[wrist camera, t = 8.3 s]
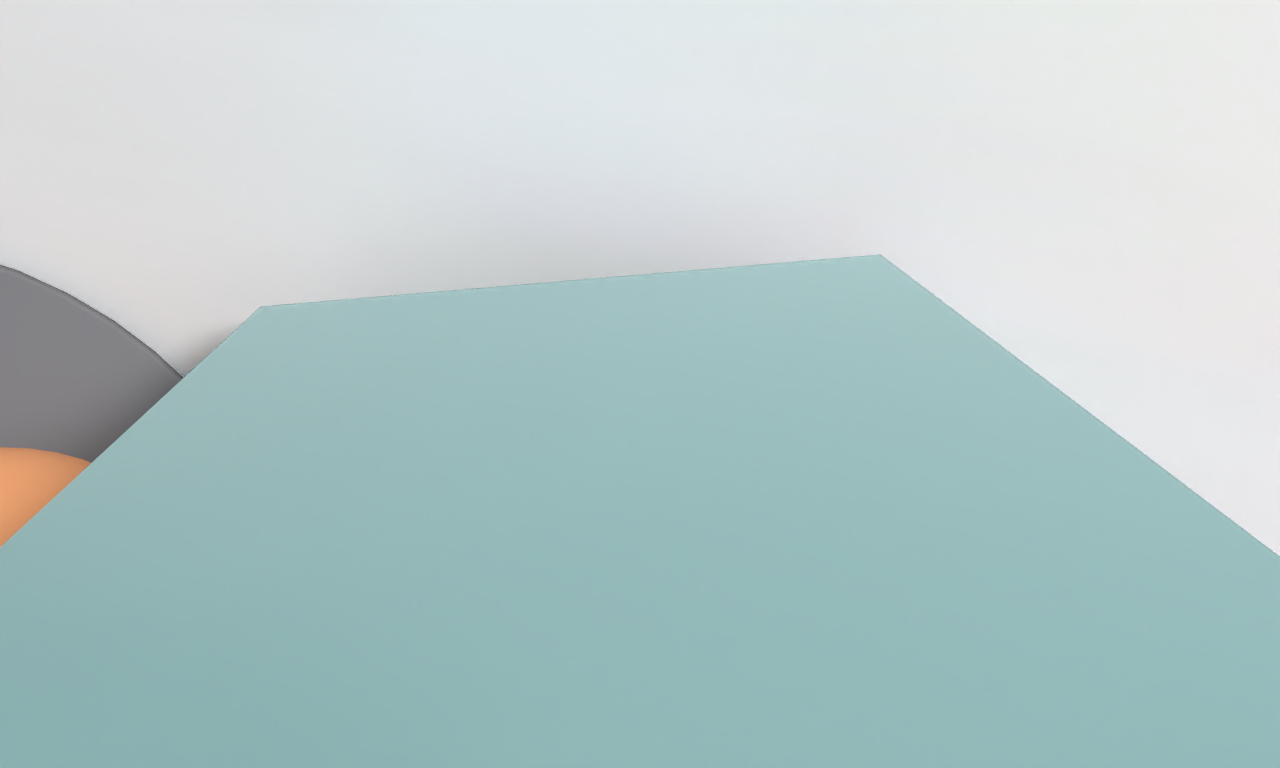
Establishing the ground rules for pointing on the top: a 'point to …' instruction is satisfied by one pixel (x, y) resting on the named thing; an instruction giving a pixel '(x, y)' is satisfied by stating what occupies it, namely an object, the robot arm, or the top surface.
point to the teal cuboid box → (633, 549)
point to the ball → (31, 484)
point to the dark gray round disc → (69, 372)
